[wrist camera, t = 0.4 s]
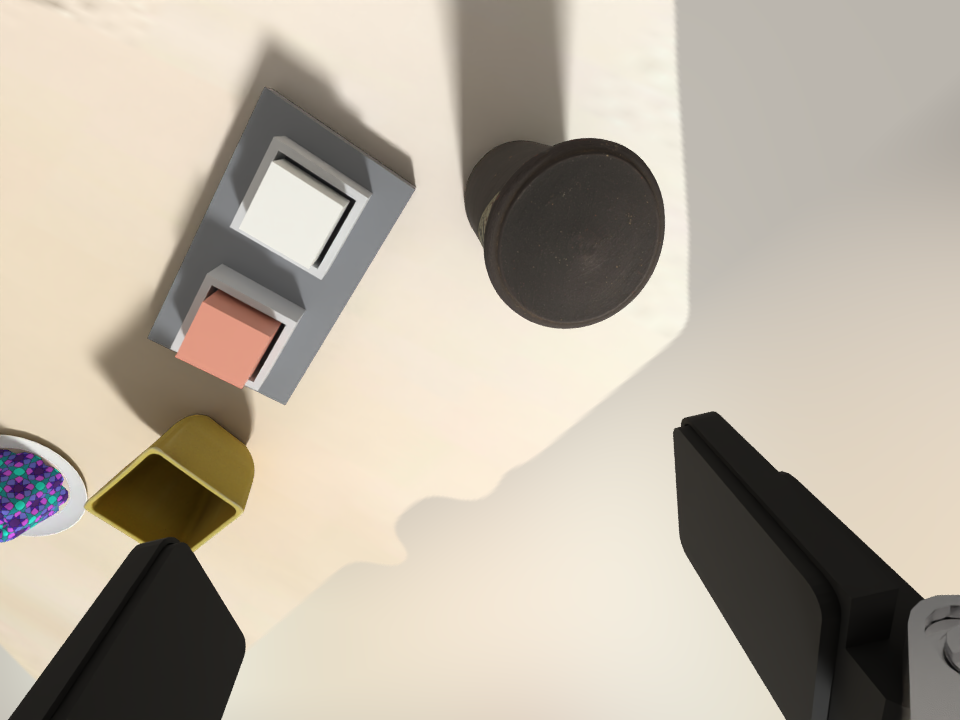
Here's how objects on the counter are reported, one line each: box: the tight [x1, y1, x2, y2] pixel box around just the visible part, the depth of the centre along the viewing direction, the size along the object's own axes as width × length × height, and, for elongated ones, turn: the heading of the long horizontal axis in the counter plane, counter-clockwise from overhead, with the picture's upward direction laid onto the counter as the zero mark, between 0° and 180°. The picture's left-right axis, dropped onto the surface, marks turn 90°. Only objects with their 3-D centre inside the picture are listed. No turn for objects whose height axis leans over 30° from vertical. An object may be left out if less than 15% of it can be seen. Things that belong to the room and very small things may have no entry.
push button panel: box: [148, 87, 416, 405], centre depth 39 cm, size 12×22×5 cm, turn 146°
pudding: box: [0, 435, 87, 542], centre depth 46 cm, size 12×12×5 cm
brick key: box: [175, 289, 281, 389], centre depth 38 cm, size 5×5×3 cm
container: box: [465, 138, 665, 329], centre depth 32 cm, size 9×9×20 cm
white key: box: [239, 159, 350, 269], centre depth 35 cm, size 5×5×3 cm
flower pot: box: [84, 415, 254, 552], centre depth 44 cm, size 9×9×9 cm
